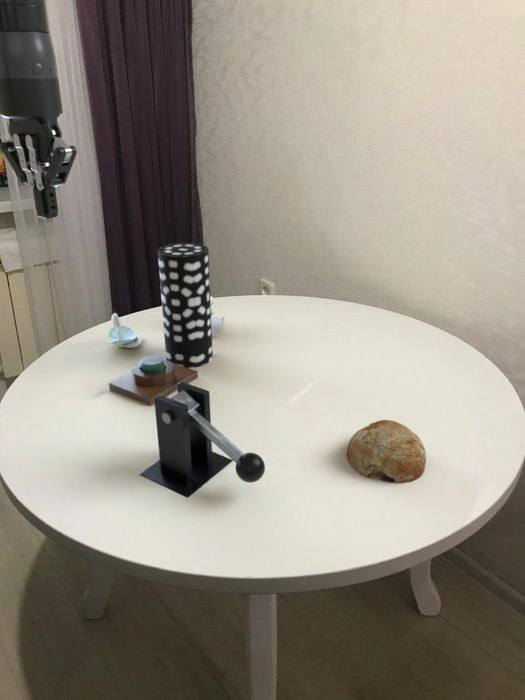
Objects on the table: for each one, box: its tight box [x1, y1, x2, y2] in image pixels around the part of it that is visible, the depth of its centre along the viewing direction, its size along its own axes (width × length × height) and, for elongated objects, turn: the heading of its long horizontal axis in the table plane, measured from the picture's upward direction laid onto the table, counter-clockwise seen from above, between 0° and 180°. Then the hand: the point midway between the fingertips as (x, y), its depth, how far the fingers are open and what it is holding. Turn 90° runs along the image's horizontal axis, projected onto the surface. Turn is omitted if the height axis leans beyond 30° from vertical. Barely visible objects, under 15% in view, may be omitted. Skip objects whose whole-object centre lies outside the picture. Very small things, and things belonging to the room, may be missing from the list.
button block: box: [108, 358, 199, 407], centre depth 95 cm, size 11×9×4 cm
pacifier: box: [108, 312, 143, 349], centre depth 110 cm, size 7×6×6 cm
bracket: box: [139, 382, 234, 499], centre depth 73 cm, size 8×9×12 cm
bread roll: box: [345, 419, 427, 484], centre depth 76 cm, size 10×10×8 cm
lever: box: [170, 390, 266, 484], centre depth 70 cm, size 14×3×3 cm, turn 56°
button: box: [140, 354, 165, 374], centre depth 94 cm, size 4×4×2 cm
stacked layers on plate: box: [210, 295, 224, 338], centre depth 118 cm, size 10×9×6 cm
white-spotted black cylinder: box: [157, 242, 214, 369], centre depth 102 cm, size 8×8×20 cm
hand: (48, 217), depth 79 cm, fingers closed
